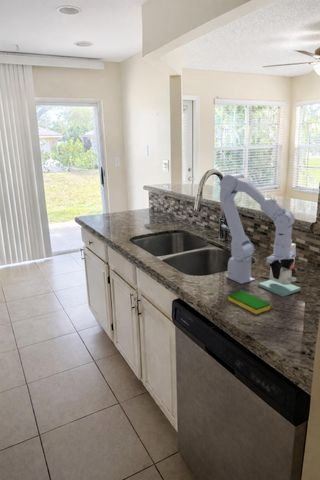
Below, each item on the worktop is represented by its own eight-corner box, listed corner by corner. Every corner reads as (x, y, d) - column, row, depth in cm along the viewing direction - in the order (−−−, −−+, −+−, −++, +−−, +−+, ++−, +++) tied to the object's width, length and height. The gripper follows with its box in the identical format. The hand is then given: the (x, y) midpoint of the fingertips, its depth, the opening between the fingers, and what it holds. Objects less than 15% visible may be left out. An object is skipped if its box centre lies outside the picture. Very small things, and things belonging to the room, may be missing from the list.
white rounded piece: (267, 278, 139) (268, 266, 137) (274, 276, 141) (275, 264, 139) (290, 287, 129) (291, 274, 128) (297, 285, 131) (298, 272, 130)
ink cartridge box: (294, 268, 158) (297, 237, 154) (289, 271, 155) (292, 239, 151) (276, 264, 164) (278, 234, 160) (271, 267, 160) (274, 236, 157)
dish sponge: (241, 296, 131) (241, 290, 131) (270, 309, 120) (271, 303, 119) (227, 300, 128) (227, 294, 127) (256, 315, 116) (256, 308, 116)
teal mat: (258, 286, 139) (258, 283, 139) (275, 280, 144) (275, 278, 144) (282, 296, 129) (283, 293, 129) (300, 290, 134) (300, 287, 134)
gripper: (278, 249, 125) (275, 284, 129) (304, 243, 132) (300, 276, 136) (263, 244, 131) (260, 278, 134) (288, 239, 138) (285, 271, 142)
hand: (279, 277), depth 135 cm, fingers closed on white rounded piece, 4 cm apart
